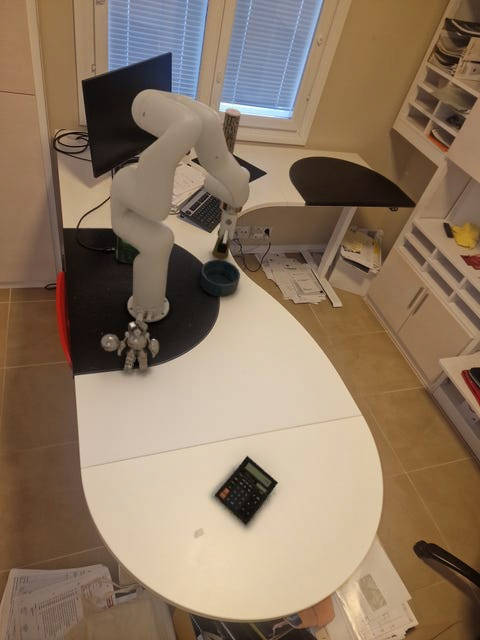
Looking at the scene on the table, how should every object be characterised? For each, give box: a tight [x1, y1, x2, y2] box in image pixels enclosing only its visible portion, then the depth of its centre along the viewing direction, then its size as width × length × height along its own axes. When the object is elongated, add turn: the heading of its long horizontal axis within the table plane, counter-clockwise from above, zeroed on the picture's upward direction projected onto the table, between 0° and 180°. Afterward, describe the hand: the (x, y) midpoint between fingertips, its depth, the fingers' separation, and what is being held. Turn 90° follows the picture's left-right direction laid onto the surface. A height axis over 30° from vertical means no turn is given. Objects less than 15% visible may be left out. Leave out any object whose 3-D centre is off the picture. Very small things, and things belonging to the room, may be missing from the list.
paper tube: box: [222, 107, 242, 157], centre depth 191 cm, size 7×7×25 cm
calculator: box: [214, 455, 279, 526], centre depth 95 cm, size 9×12×3 cm
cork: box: [211, 227, 231, 260], centre depth 147 cm, size 6×6×11 cm
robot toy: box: [100, 321, 160, 373], centre depth 107 cm, size 15×6×15 cm, turn 96°
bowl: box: [199, 259, 241, 297], centre depth 139 cm, size 13×13×6 cm
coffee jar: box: [115, 236, 140, 265], centre depth 135 cm, size 10×8×19 cm
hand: (221, 248), depth 149 cm, fingers closed on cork, 4 cm apart
